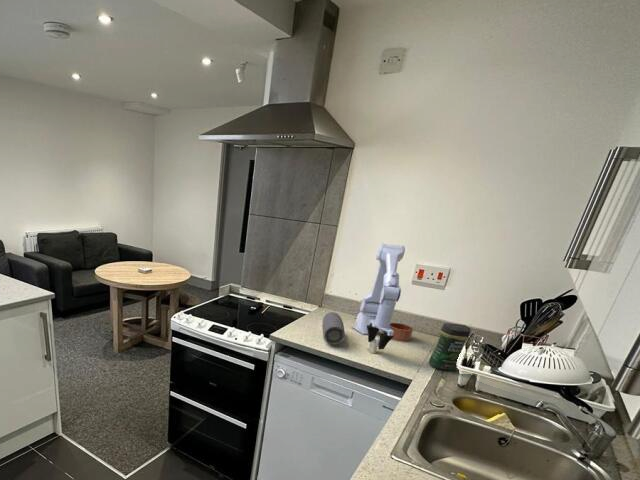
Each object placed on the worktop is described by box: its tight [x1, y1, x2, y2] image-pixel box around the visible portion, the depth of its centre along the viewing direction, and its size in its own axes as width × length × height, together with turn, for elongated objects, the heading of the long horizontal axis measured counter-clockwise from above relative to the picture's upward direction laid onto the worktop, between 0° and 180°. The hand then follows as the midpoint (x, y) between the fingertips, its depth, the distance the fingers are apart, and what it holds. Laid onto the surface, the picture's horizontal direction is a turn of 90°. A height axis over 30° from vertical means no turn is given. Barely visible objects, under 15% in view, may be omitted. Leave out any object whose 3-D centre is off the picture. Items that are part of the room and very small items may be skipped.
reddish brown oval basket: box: [389, 322, 415, 342], centre depth 190 cm, size 14×11×6 cm
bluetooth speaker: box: [321, 311, 346, 345], centre depth 179 cm, size 23×9×10 cm, turn 164°
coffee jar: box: [428, 322, 472, 372], centre depth 156 cm, size 10×8×19 cm
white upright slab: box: [368, 336, 380, 354], centre depth 167 cm, size 7×2×8 cm, turn 0°
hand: (375, 345), depth 167 cm, fingers closed on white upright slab, 7 cm apart
